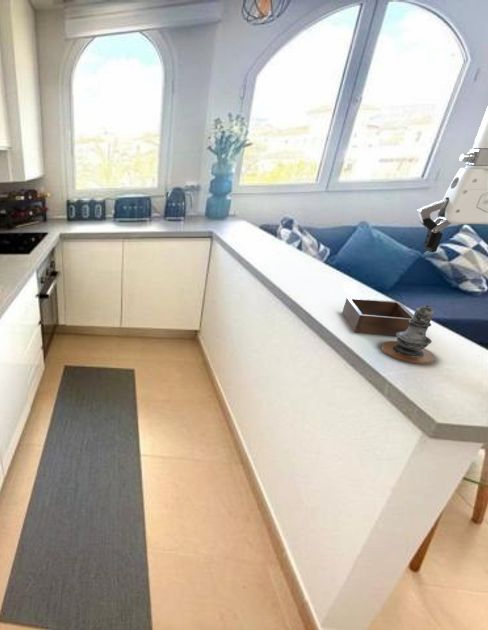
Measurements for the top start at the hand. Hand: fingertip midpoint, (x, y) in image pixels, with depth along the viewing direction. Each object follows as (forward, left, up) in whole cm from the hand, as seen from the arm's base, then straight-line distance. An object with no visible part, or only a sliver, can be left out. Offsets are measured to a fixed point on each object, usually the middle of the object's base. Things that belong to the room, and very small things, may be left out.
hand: (461, 250), depth 69 cm
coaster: (+2, +1, -24) cm, 24 cm away
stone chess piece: (+2, +1, -24) cm, 24 cm away
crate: (+4, -13, -24) cm, 28 cm away
